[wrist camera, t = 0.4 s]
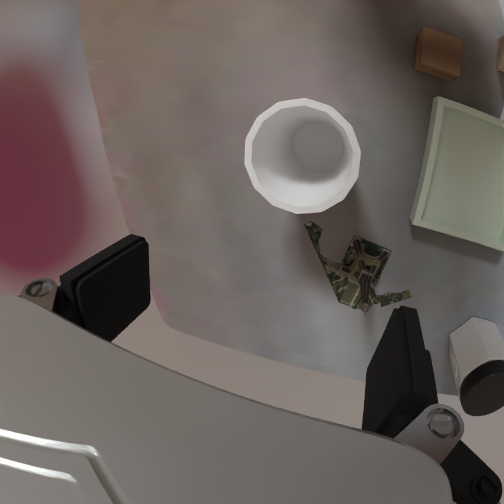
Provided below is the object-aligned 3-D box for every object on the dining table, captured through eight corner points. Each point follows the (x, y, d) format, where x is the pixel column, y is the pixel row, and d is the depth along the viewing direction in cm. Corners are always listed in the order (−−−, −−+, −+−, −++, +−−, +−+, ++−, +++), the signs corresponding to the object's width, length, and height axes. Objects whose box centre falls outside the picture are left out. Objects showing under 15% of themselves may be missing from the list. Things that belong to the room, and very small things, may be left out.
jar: (447, 321, 38) (465, 379, 27) (496, 309, 35) (523, 363, 24) (447, 366, 40) (458, 424, 30) (491, 355, 37) (510, 409, 27)
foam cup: (375, 148, 33) (385, 160, 22) (320, 200, 38) (303, 236, 26) (315, 91, 33) (295, 75, 21) (264, 146, 37) (222, 157, 26)
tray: (433, 97, 28) (438, 96, 26) (527, 135, 25) (536, 136, 23) (409, 217, 35) (412, 224, 33) (499, 245, 32) (507, 252, 29)
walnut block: (416, 36, 26) (423, 26, 22) (451, 47, 25) (462, 39, 21) (413, 70, 28) (420, 63, 24) (448, 81, 27) (460, 76, 23)
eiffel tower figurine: (302, 221, 40) (277, 265, 29) (375, 191, 36) (384, 224, 24) (345, 316, 43) (336, 382, 32) (412, 294, 39) (426, 358, 27)
